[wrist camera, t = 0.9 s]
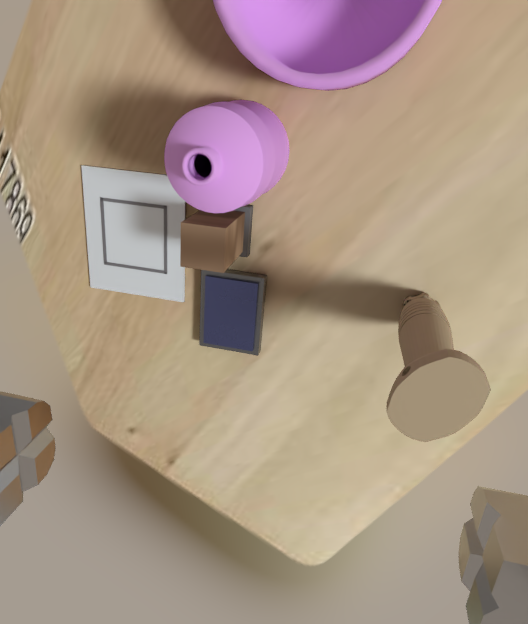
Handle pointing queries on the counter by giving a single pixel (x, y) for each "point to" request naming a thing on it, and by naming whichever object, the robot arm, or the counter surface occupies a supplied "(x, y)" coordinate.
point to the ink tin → (232, 310)
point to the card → (133, 232)
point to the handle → (433, 376)
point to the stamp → (215, 239)
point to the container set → (290, 69)
